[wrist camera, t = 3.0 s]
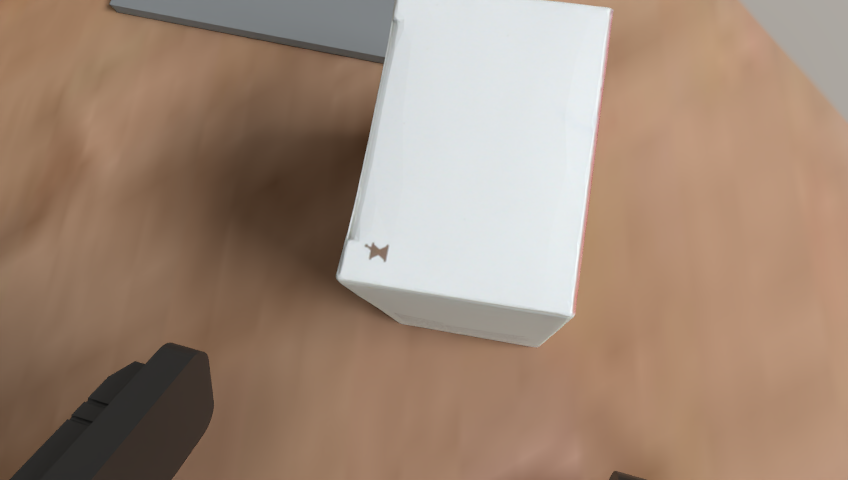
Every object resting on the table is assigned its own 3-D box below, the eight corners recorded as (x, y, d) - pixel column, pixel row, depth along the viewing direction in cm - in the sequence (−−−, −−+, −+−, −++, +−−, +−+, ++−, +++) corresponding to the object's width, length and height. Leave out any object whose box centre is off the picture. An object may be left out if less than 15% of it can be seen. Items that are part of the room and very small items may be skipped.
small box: (539, 350, 24) (577, 329, 13) (396, 324, 24) (329, 287, 14) (567, 153, 25) (621, -1, 15) (432, 134, 26) (395, -23, 16)
